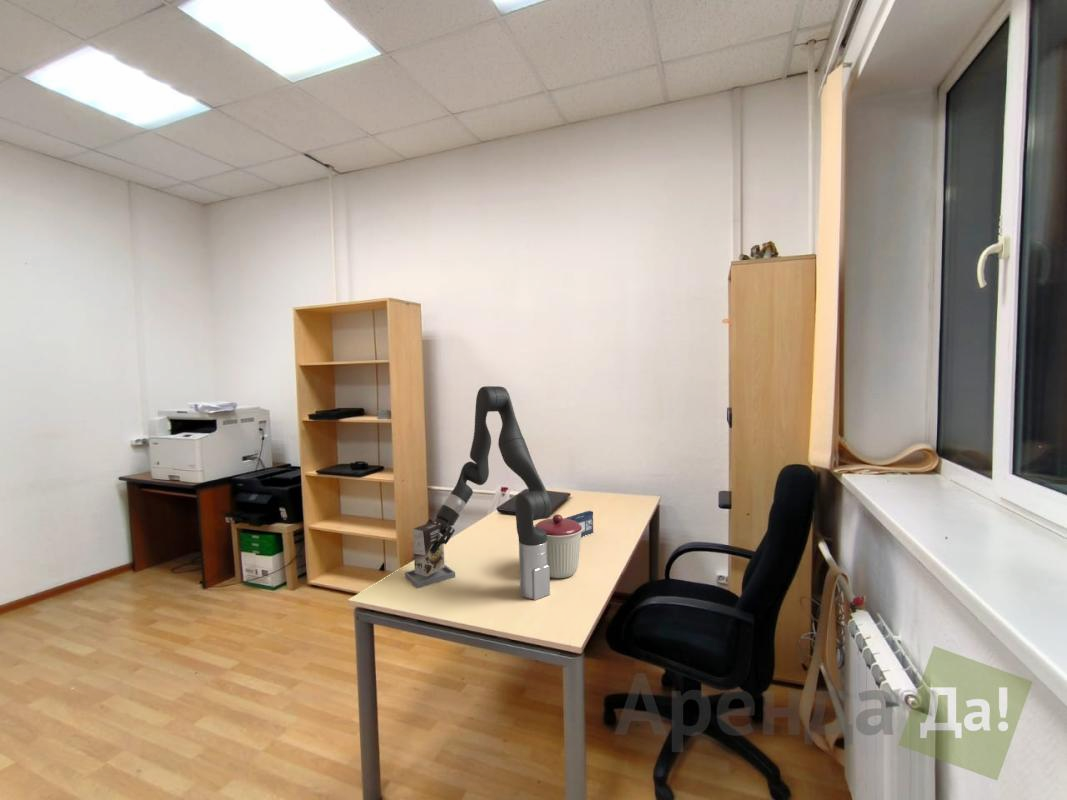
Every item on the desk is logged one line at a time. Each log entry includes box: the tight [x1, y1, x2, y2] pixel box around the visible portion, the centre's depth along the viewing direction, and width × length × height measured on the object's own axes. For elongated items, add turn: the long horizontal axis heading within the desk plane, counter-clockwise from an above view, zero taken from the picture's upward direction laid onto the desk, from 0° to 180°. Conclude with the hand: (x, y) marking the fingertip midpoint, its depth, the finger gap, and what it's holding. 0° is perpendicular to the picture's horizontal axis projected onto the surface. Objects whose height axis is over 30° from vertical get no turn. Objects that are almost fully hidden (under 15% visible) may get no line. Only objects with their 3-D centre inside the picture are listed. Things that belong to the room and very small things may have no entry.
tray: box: [404, 563, 456, 589], centre depth 166 cm, size 11×14×2 cm
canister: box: [533, 514, 583, 579], centre depth 167 cm, size 18×18×21 cm
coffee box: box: [413, 522, 446, 577], centre depth 166 cm, size 9×6×16 cm
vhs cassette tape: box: [564, 510, 594, 538], centre depth 202 cm, size 18×3×10 cm, turn 129°
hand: (425, 549), depth 165 cm, fingers closed on coffee box, 7 cm apart
